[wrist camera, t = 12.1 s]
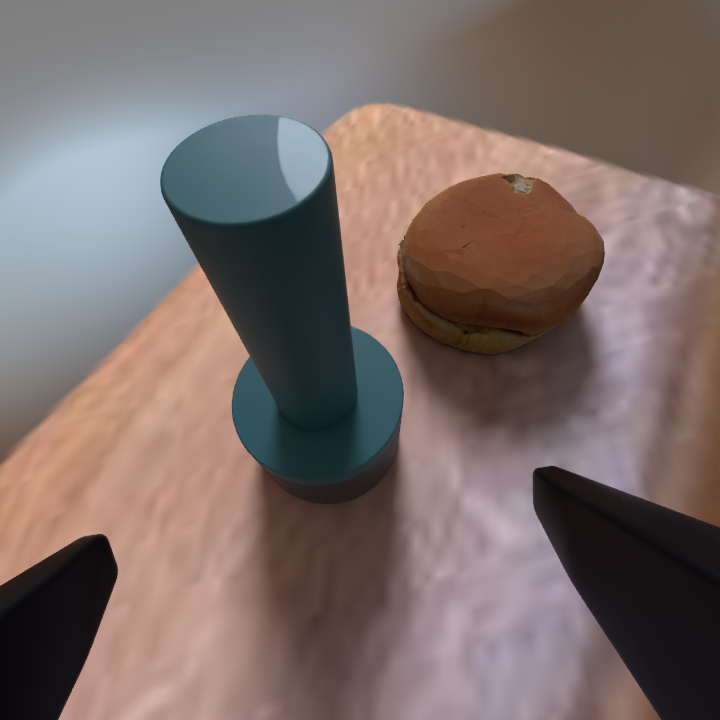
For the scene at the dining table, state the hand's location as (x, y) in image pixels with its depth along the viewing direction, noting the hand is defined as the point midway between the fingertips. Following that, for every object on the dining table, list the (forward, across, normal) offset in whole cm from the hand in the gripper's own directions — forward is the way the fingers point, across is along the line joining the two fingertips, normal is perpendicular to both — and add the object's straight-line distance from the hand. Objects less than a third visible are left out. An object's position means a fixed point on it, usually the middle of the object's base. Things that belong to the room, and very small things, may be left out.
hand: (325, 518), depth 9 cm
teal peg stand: (+10, 0, +3) cm, 11 cm away
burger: (+16, -9, -2) cm, 18 cm away
